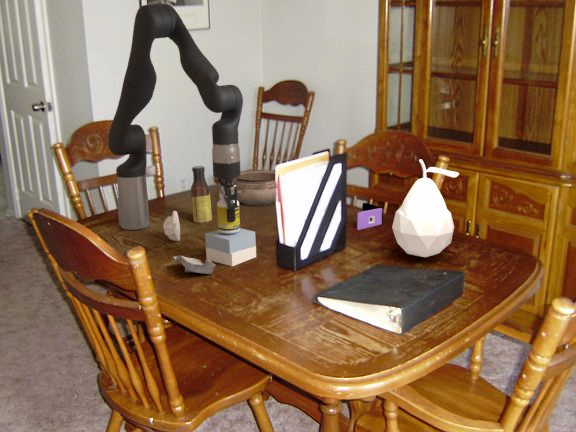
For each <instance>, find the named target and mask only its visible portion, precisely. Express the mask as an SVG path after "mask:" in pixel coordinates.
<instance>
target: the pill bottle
mask: <svg viewBox="0 0 576 432" xmlns="http://www.w3.org/2000/svg"><path fill="white" fill-rule="evenodd" d="M219 197H220V198H219ZM226 197H227V196H226ZM218 198H219V199H218V201H217V203H216V211H217V213H216V214H217V230H218V231H219V232H221V233H226V234H232V233H236V232H238V231H239V230H240V228H241V220H240V218H241V217H240V202H239V201H238V200H237V208H235V222H228V221H227V208H226V202H225V201H224V200H223V192H220V193H219V192H218ZM230 204H233V201H230Z"/></svg>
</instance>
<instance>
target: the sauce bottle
mask: <svg viewBox="0 0 576 432" xmlns="http://www.w3.org/2000/svg"><path fill="white" fill-rule="evenodd" d="M191 171H192V175H193V176H192V177H193V179H192V180H193V182H192V185H191V187H190V192H191V205H192V207H191V208H192V216H193V217H192V218H193V222H194V223H195V224H198V225H201V224H209V223H211V222H212V221H213V214H212V213H213V212H212V203H211V201H212V200H211V190H210V187H209V185H208V183H207V181H206V180H207V179H206V176H205V171H206V170H205V166H203V165H196V166H192V167H191Z"/></svg>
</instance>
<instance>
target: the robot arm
mask: <svg viewBox="0 0 576 432" xmlns="http://www.w3.org/2000/svg"><path fill="white" fill-rule="evenodd" d="M165 38H166V39H167V38H168V39H169V40H171V41H172V42H173V43H174V44H175V46H177V49H178V52H179V53H178V54H179V59H180V60H179V61H180V65H181V68H182V70H183V71H184V73H185V74H186V76H187V77H188V78H189V79H190V80H191V82H192V83H193V84H194V85H195V86H196V88H197V91H198V93H199V96H200V98H201V99H202V103H203V104H204V106H205V107H206V108H207V109H208V110H209V111H210V112H213V113H214V114H215V113H216V114H221V116H220V118H219V120H217V121H215V122H214V123H213V124H212V126H211V135H212V149H211V153H212V154H211V155H212V176H213V177H214V178H216V179H217V185H218V194H219V193H220V192H223V200H224V201H225V202H226V208H227V221H228V222H235V208H237V201H238V200H237V187H236V185H235V181H234V179H236V178H237V177H239V176H240V174H241V159H240V158H241V153H240V152H241V151H240V146H239V145H240V144H239V124H240V121H241V117H242V112H243V106H244V105H243V104H244V98H243V94H242V92H241V90H240V88H239V87H238V86H237V85H234V84H224V85H218V82H219V80H220V75H219V72H218V70H217V68H215V66H214V65H213V64H212V62H210V61H209V59H208V58H207V57H206V56H205V55H204V54H203V52H202V50H200V48H199V47H198V46H197V43H196V42H195V40H194V38H193V37H192V35H191V34H190V31H189V30H188V28H187V26H186V25H185V23H184V21H183V19H182V18H181V17H180V15H179V13H178V12H177V10H176V9H175V8H174V7H173V6H172V5H170V4H167V3H152V4H143V5H141V6H140V7H139V8H138V9H137V11H136V14H135V16H134V22H133V32H132V40H131V46H130V52H129V56H128V61H127V65H126V69H125V70H126V71H125V75H124V77H123V83H122V87H121V92H120V97H119V101H118V104H117V108H116V110H115V114H114V117H113V119H112V122H111V125H110V128H109V131H108V134H107V146H108V149H109V151H110V153H111V154H113V155H114V156H126V155H128V158H126V160H125V161H124V162H122V163H121V164H119V165H117V167H116V168H115V169H116V170H115V172H116V183H117V196H118V197H117V198H116V202H117V213H118V224H119V227H120V228H121V229H122V230H132V231H133V230H135V231H136V230H142V229H146V228H148V227H150V224H151V223H150V213H149V199H148V187H147V186H148V185H147V172H146V170H147V164H148V163H147V160H148V159H147V139H146V133H145V130H144V128H143V127H142V126H141V125H140V124H132V123H133V121H134V119H136V118H137V116H138V115H140V114H141V112H142V111H143V110H144V109H145V108H146V107H147V106H148V104H149V103H150V102H151V100H152V98H153V95H154V92H155V89H156V85H157V80H158V79H157V76H158V75H157V72H156V70H155V67H154V65H153V62H152V58H151V51H152V46H153V43H154V41H155V40H156V39H165ZM226 196H227V197H226ZM218 198H219V199H220V197H219V196H218ZM230 201H233V204H230Z"/></svg>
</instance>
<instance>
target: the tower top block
mask: <svg viewBox="0 0 576 432" xmlns="http://www.w3.org/2000/svg"><path fill="white" fill-rule="evenodd" d="M204 238H205V248H206V247H207V248H211V249H214V250H217V251H221V252H224V253H228V254H232V253H235V252H238V251H240V250H243V249H246V248H249V247H252V246H255V245H256V246H257V243H256V241H257V240H256V231H255V230H249V229H244V228H242V227H240V230H239V231H238V232H236V233H232V234H226V233H221V232H219V231H218V229H216V230H213V231H210V232H209V231H208V232H205V233H204Z"/></svg>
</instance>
